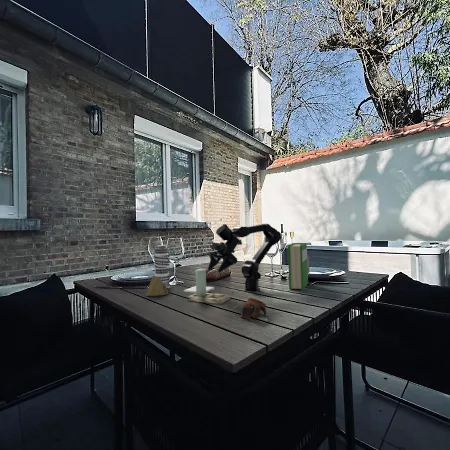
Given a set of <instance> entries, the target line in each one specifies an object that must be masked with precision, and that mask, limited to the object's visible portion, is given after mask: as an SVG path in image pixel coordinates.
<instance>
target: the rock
mask: <svg viewBox="0 0 450 450" xmlns="http://www.w3.org/2000/svg"><path fill="white" fill-rule="evenodd" d="M163 295H169V288H168V289H167V288H166V285H165V284H164V283H163V282H162V281H161V280H160V279H159V278H158V277H157V276H155V275H153V276H152V278H151V280H150V282H149V285H148V287H147V291H146V295H145V296H146V297H148V296H149V297H156V296H163Z"/></svg>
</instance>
